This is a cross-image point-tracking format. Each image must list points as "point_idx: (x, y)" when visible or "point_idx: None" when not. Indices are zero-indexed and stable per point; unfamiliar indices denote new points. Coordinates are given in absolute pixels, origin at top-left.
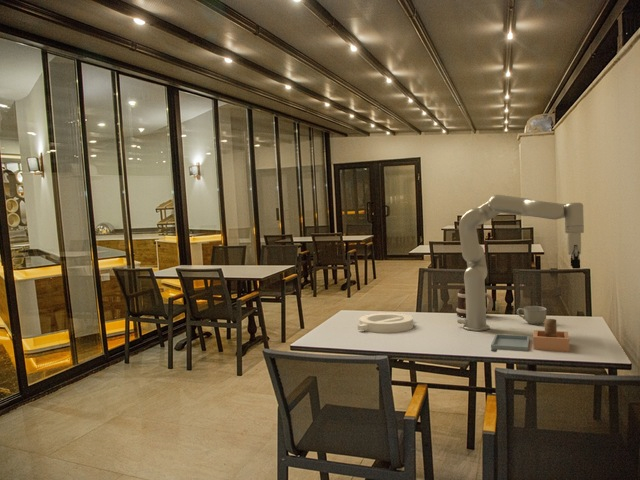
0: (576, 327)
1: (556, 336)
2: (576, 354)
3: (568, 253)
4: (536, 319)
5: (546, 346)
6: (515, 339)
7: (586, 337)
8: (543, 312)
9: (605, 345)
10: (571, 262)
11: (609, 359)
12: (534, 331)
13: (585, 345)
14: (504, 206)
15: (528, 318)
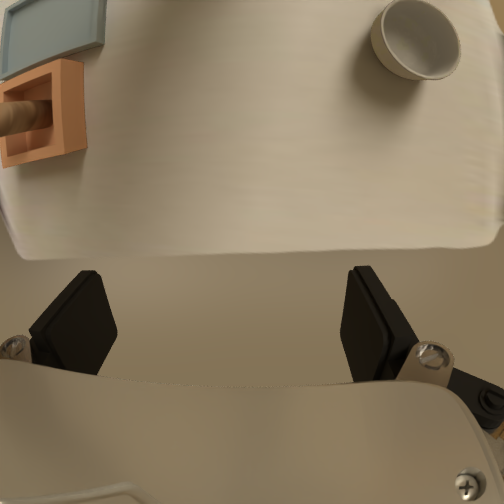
0: (359, 171)
1: (27, 131)
2: (28, 175)
3: (34, 377)
4: (372, 40)
5: None
6: (92, 12)
7: (208, 192)
8: (396, 62)
9: (127, 237)
10: (362, 298)
11: (25, 237)
12: (44, 66)
13: (107, 189)
14: None
15: (377, 16)
